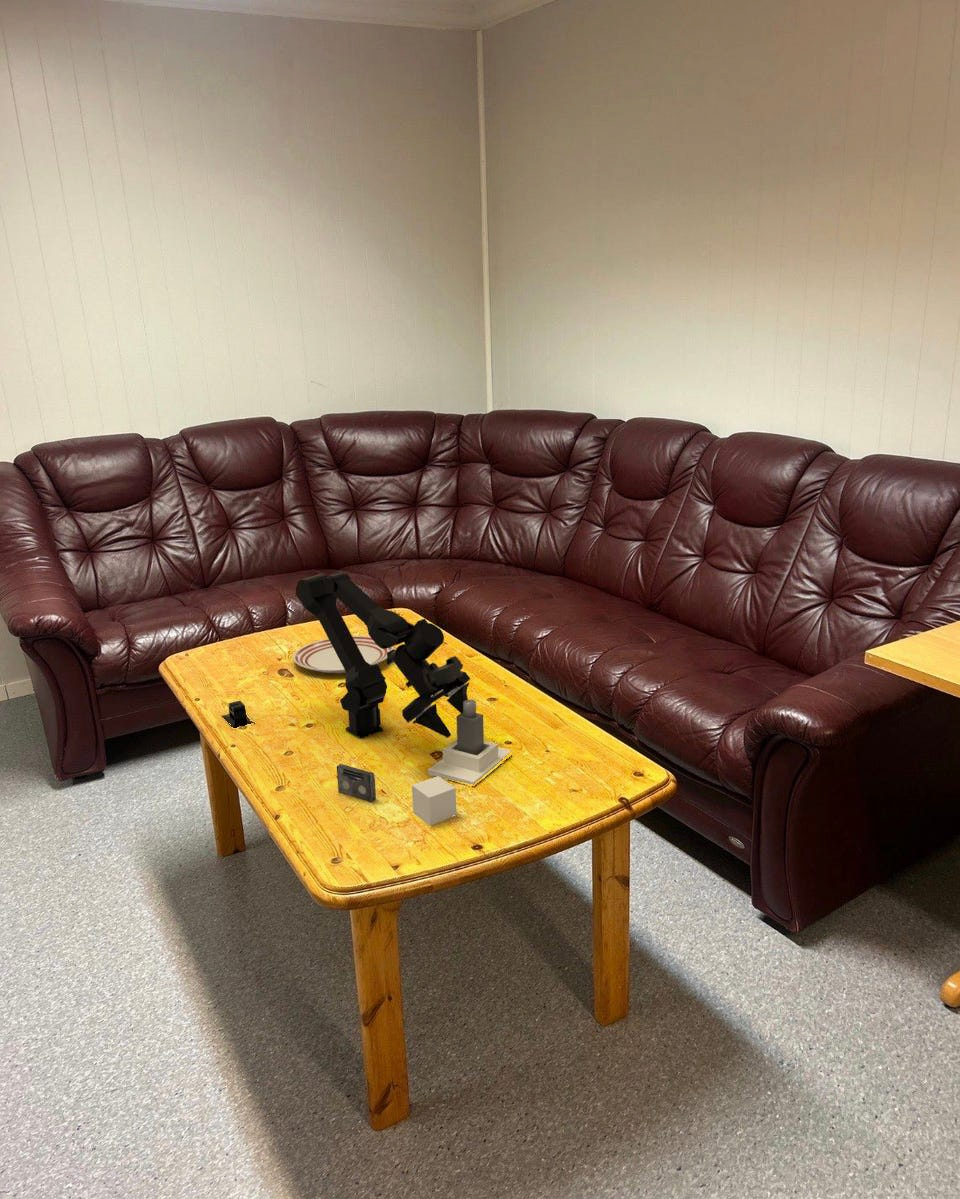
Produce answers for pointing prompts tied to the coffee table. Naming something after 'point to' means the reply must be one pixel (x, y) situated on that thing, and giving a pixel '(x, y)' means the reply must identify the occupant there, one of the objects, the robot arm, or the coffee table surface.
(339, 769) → the mini dv tape
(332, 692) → the coffee table surface
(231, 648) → the coffee table surface
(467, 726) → the plug
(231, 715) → the black boxy piece
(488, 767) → the socket board
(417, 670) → the robot arm
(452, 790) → the gray cube
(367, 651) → the dinner plate
